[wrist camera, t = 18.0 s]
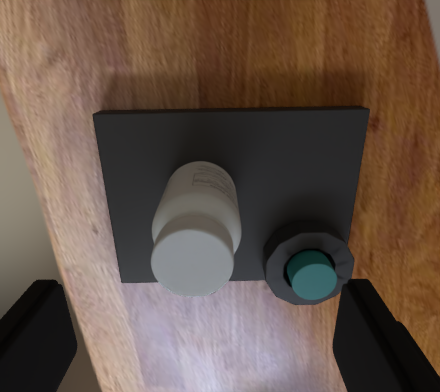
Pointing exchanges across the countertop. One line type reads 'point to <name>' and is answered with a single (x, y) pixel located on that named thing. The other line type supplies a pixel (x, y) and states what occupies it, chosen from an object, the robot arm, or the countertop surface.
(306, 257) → the button
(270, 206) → the scale
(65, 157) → the countertop surface
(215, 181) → the pill bottle
